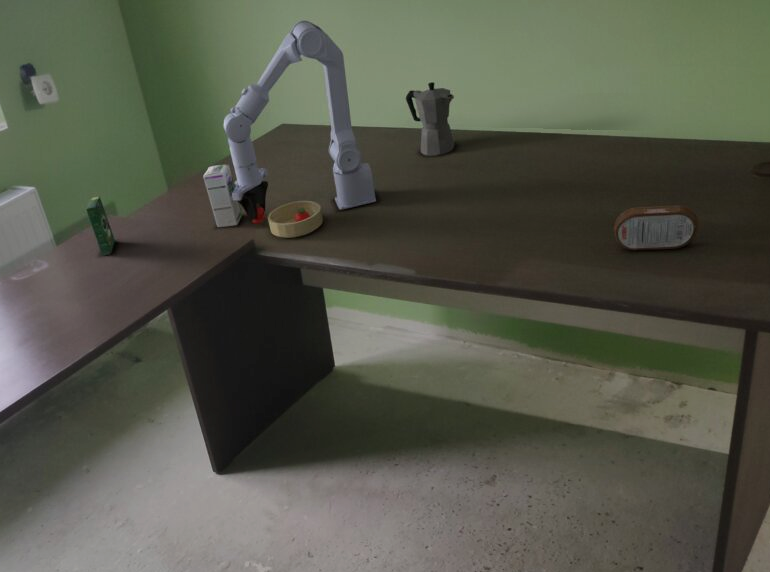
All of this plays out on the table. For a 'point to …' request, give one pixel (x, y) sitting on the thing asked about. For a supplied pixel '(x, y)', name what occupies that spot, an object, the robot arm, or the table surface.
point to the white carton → (222, 195)
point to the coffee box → (100, 225)
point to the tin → (656, 227)
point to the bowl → (285, 221)
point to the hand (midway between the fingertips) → (257, 215)
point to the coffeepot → (433, 119)
